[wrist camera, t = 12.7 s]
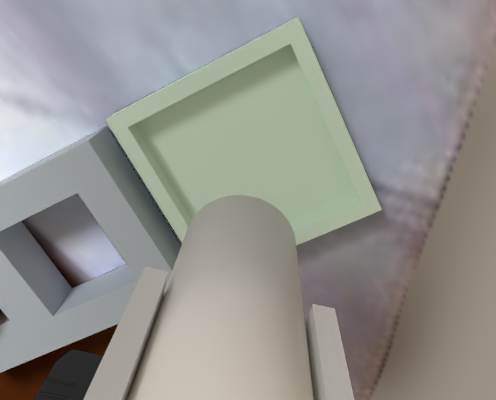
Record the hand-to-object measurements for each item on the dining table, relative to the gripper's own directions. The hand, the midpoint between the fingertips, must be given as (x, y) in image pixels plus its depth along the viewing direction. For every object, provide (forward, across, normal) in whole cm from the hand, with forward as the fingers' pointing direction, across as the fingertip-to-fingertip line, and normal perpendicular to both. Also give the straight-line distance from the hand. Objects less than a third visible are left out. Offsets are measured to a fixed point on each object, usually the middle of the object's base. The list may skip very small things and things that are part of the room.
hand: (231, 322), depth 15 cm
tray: (+17, 0, 0) cm, 17 cm away
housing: (+17, -14, -11) cm, 25 cm away
